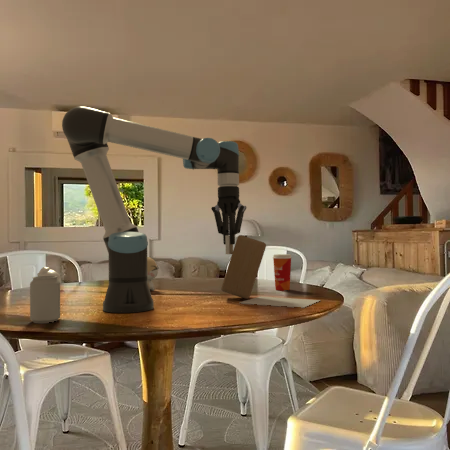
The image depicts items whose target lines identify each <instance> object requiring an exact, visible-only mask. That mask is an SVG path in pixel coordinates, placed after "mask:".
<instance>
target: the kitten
mask: <svg viewBox="0 0 450 450" xmlns="http://www.w3.org/2000/svg"><path fill="white" fill-rule="evenodd" d="M159 269H160V268H159V266H158V265H157V262H156V260H155V259H153V258H152V257H150V256H149V257H148V256H147V274H148V276H147V277H148V286H149V289H150V292H154V291H155V289H156V288H155V284H154V282H153V280H154V279H155V278H156V277H157V276H158V273H159Z"/></svg>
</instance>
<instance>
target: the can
mask: <svg viewBox="0 0 450 450" xmlns="http://www.w3.org/2000/svg"><path fill="white" fill-rule="evenodd" d="M60 318H61V283H60V281H59V280H58V279H57V276H33V277H32V281H30V283H29V319H30V320H31V321H32V322H33V323H34V324H50V323H49V322H52V323H54V321H56V322H58V320H59V319H60Z"/></svg>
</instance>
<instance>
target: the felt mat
mask: <svg viewBox="0 0 450 450" xmlns="http://www.w3.org/2000/svg"><path fill="white" fill-rule="evenodd" d="M319 301H320V302H321V299H306V298H305V299H304V298H290V297H276V296H275V297H274V296H273V297H272V296H263V295H262V296H261V295H260V296H258V297H254V298H253V297H252V298H250V299H245V300H243V301H239V304H240V303H241V304H242V305H254V304H257V306H267V305H271V306H270V307H281V306H287V307H286V308H294V307H301V308H300V309H305V307H306V308H308V307H310V306H312V304H313V305H315V304H317V303H319ZM316 302H317V303H316ZM314 303H315V304H314ZM241 304H240V305H241ZM309 305H310V306H309ZM307 306H308V307H307Z"/></svg>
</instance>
